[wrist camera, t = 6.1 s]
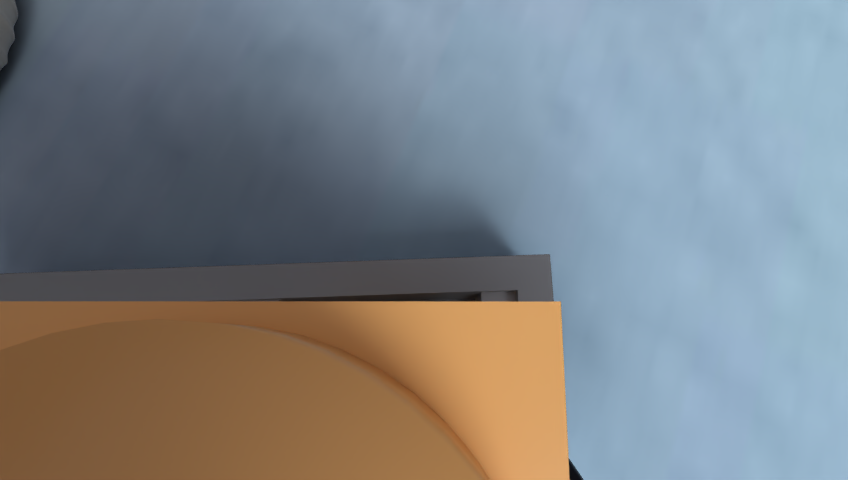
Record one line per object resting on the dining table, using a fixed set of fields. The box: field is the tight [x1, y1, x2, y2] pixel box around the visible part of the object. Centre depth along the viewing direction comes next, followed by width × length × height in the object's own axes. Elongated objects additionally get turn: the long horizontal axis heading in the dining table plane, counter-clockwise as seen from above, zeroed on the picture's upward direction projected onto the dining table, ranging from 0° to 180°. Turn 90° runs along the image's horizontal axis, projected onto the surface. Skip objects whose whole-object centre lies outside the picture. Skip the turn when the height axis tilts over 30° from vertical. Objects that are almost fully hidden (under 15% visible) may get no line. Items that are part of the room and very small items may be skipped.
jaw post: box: [0, 301, 570, 480], centre depth 9 cm, size 4×4×13 cm
